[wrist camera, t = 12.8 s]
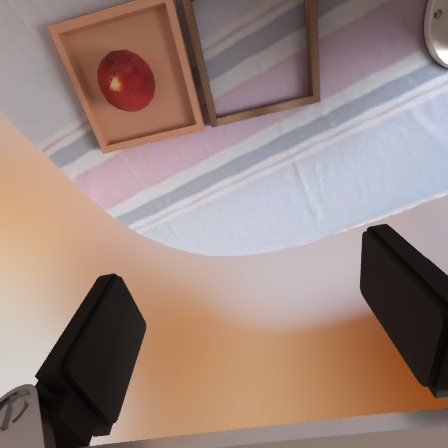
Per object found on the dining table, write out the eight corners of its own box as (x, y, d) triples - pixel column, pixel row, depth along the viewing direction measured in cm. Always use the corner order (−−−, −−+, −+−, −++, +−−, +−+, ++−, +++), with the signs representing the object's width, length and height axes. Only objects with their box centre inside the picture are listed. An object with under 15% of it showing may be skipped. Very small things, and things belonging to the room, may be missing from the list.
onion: (106, 57, 30) (70, 49, 23) (154, 50, 29) (133, 39, 22) (121, 111, 33) (93, 119, 26) (166, 105, 32) (150, 111, 25)
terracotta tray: (173, -4, 28) (169, -11, 26) (205, 127, 34) (204, 129, 32) (58, 30, 29) (46, 26, 27) (109, 149, 35) (103, 153, 34)
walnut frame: (310, -44, 26) (314, -51, 25) (316, 100, 33) (320, 101, 31) (181, -7, 28) (179, -11, 26) (212, 125, 34) (211, 127, 33)
